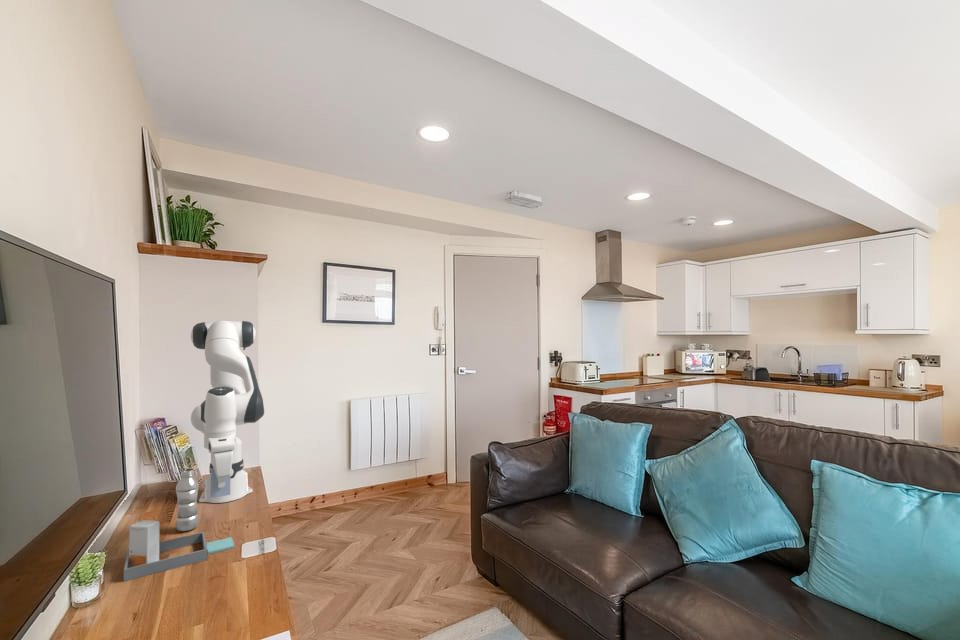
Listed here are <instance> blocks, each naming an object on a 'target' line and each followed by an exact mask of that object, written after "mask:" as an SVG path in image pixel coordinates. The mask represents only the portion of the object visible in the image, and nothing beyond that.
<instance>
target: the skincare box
mask: <svg viewBox="0 0 960 640" xmlns="http://www.w3.org/2000/svg"><path fill="white" fill-rule="evenodd" d="M128 536H129V541H128V542H129V545H128V546H129V548H128V549H129V568H131V567H135V566H139V565H143V564H147V563H151V562H155V561H159V560H160V552H159V542H160V521H158V520H152V519H151V520H149V519H147V520H145V519H144V520H143V519H141V520H139V521H137V522H135V523H133V524H131V525H130V526H129V535H128Z"/></svg>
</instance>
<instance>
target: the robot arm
mask: <svg viewBox="0 0 960 640" xmlns="http://www.w3.org/2000/svg"><path fill="white" fill-rule="evenodd" d="M256 336H257V331H256V328H255V326H254V324H253V323H252V322H251V321H247V320H242V321H238V320H223V319H221V320H217V321H210V322H209V321H208V322H205V321H204V322H198V323H196V324H194V325H193V327H192V329H191V332H190V339H191V342H192V344H193V346H194V347H195V348H196V349H199V350H204V357H205V361H206V363H207V364H208V366H209V369H210V375H209V376H210V385H211V387H212V388H210V389H208V390H207V391H206V395H205V400H203V401H202V402H201V404H200V405H197V406H195V408H194V409H192V412H191V415H190V423H191V425H192V426H193V428H194V429H196V430H197V431H199V432H200V433H202V434H203V447H204V449H207V450H208V453H210V463H209V466H208V468H209V469H208V470H209V474H208V476H207V477H206V479H205V480H203V485H202V486H203V487H205V488H203V490H202V493H201V495H200V497H199V499H198V503H210V504H211V503H212V504H218V503H219V504H220V503H221V504H223V503H228V502H232V501H236V500H239V499H242V498H243V497H245V496H246V495H248V494H251V493H253V488H251V487H250V486H249V483H248V481H249V479H248V478H249V477H248V472H247V471H246V470H245V469H244V465H245V462H244V459H243V442H242V439H241V438H240V437H238V436H237V433H238V432H237V429H238V427H237V426H241V425H247V424H253V423H254V424H255V423H256V422H258V421H259V420H261V418H263V417H264V415H265V410H266V406H265V405H266V404H265V400H264V398H263V396H262V392H261V390H260V386H259V384H258V378H257V376H256V371H255V368H254V366H253V362H252V360H251V358H250V357H249V356H248V355H246V354H244V353H243V352H242V350H243V351H245V350H246V348H250V347H252V345H253V344H254V342H255V340H256ZM241 348H243V349H242V350H241ZM211 468H214V471H215V474H216V477H217V478H218V488H222V487H224V486H225V478H226V477H228V476H230V495H226V496H221V497H215V498H211Z"/></svg>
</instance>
